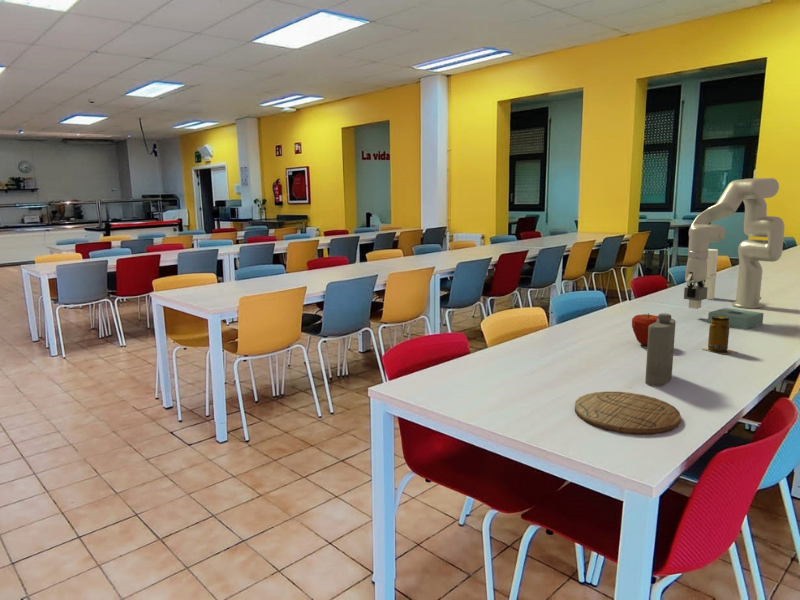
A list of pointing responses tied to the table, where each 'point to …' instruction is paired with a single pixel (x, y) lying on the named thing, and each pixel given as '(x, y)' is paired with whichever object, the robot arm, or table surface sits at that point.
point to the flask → (660, 350)
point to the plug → (696, 296)
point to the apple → (642, 326)
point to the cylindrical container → (711, 272)
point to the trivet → (627, 413)
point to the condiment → (719, 335)
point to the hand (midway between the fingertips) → (695, 295)
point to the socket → (738, 317)
